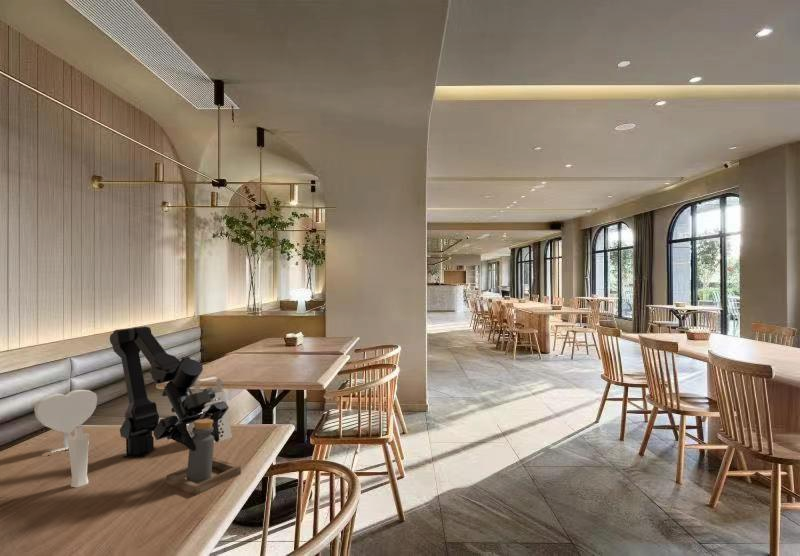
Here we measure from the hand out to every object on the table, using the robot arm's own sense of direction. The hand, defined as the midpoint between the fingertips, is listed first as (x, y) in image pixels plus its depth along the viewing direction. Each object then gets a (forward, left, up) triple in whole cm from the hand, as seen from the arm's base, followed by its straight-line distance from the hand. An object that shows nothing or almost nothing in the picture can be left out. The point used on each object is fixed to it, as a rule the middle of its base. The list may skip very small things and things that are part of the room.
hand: (206, 445), depth 110 cm
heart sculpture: (-57, +23, -9) cm, 62 cm away
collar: (-1, +1, -9) cm, 9 cm away
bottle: (-2, -1, -9) cm, 9 cm away
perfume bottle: (-33, -1, -9) cm, 34 cm away
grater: (-14, +30, -9) cm, 34 cm away
